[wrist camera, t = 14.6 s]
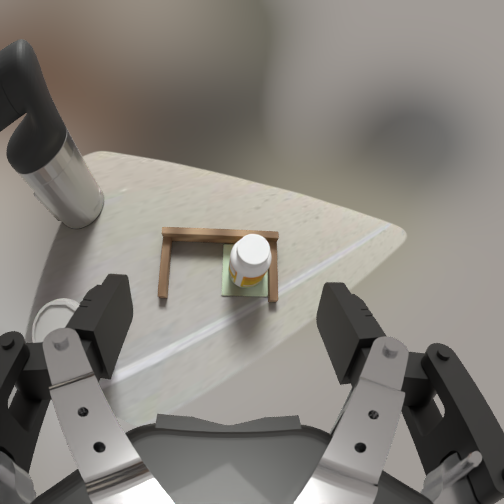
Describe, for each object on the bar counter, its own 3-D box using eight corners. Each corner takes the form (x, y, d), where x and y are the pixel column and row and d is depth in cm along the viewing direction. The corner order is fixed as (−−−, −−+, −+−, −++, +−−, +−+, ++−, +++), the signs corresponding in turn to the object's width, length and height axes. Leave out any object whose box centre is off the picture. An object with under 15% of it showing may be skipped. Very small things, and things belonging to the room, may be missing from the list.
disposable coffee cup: (134, 330, 39) (105, 321, 28) (110, 384, 35) (74, 392, 24) (86, 301, 39) (47, 282, 28) (63, 352, 36) (20, 348, 24)
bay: (159, 297, 41) (155, 293, 38) (165, 234, 44) (162, 226, 41) (276, 302, 43) (280, 298, 40) (274, 239, 46) (278, 231, 43)
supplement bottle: (270, 266, 44) (284, 242, 35) (252, 295, 42) (262, 278, 33) (240, 248, 45) (246, 220, 36) (221, 276, 43) (222, 254, 34)
